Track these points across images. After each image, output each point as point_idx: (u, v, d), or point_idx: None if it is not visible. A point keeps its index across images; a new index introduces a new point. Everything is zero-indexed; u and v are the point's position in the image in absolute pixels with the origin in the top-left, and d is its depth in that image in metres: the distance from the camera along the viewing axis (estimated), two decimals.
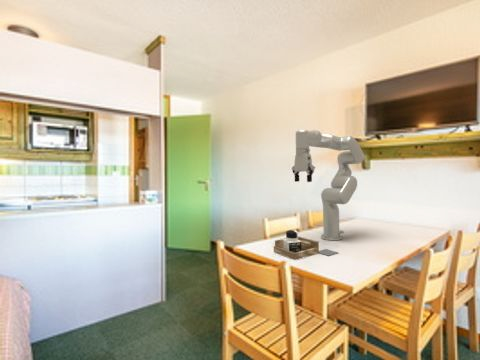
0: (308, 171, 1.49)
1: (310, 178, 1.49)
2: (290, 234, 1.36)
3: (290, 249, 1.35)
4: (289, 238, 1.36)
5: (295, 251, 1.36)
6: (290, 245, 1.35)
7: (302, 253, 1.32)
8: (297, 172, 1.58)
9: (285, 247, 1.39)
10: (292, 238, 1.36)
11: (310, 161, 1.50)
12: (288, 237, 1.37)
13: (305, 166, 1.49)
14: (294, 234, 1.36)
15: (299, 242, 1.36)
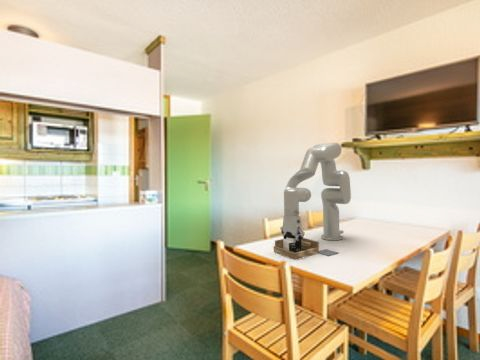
0: (297, 236, 1.34)
1: (299, 244, 1.34)
2: (290, 234, 1.36)
3: (290, 249, 1.35)
4: (289, 238, 1.36)
5: (295, 251, 1.36)
6: (290, 245, 1.35)
7: (302, 253, 1.32)
8: None
9: (285, 247, 1.39)
10: (292, 238, 1.36)
11: (300, 224, 1.35)
12: (288, 237, 1.37)
13: (294, 230, 1.34)
14: None
15: None
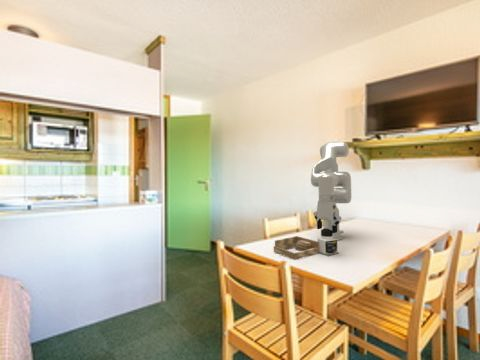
0: (333, 221, 1.34)
1: (336, 229, 1.34)
2: (326, 232, 1.36)
3: (326, 247, 1.35)
4: (325, 236, 1.36)
5: (331, 249, 1.35)
6: (326, 243, 1.34)
7: (302, 253, 1.32)
8: (319, 218, 1.44)
9: (320, 245, 1.38)
10: (328, 236, 1.36)
11: (335, 210, 1.35)
12: (324, 235, 1.37)
13: (330, 216, 1.34)
14: (330, 232, 1.36)
15: (335, 240, 1.36)
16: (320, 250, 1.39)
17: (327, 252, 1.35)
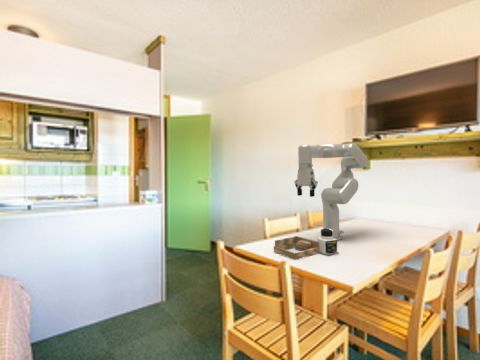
0: (311, 186, 1.50)
1: (313, 193, 1.50)
2: (326, 232, 1.36)
3: (326, 247, 1.35)
4: (325, 236, 1.36)
5: (331, 249, 1.35)
6: (326, 243, 1.34)
7: (302, 253, 1.32)
8: (300, 186, 1.60)
9: (320, 245, 1.38)
10: (328, 236, 1.36)
11: (313, 176, 1.51)
12: (324, 235, 1.37)
13: (308, 181, 1.50)
14: (330, 232, 1.36)
15: (335, 240, 1.36)
16: (320, 250, 1.39)
17: (327, 252, 1.35)
